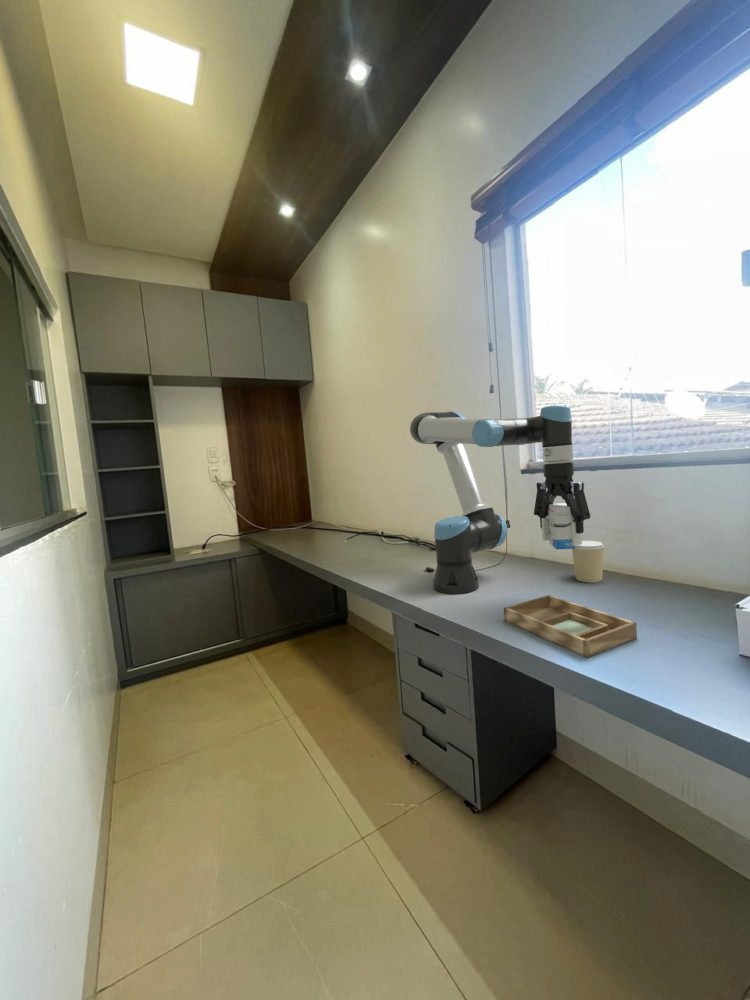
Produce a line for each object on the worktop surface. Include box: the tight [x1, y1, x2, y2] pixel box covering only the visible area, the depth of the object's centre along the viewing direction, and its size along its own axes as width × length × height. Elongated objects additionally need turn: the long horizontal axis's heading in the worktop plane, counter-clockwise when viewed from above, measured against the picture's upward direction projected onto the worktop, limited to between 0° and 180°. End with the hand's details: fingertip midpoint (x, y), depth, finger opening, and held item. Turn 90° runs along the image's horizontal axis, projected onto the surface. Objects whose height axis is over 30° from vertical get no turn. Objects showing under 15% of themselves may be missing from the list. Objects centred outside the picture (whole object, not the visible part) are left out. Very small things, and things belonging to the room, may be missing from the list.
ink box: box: [548, 502, 575, 550], centre depth 110 cm, size 8×5×12 cm, turn 168°
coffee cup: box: [571, 540, 605, 583], centre depth 130 cm, size 9×9×12 cm
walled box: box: [503, 594, 638, 659], centre depth 96 cm, size 24×16×4 cm, turn 24°
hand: (561, 542), depth 111 cm, fingers closed on ink box, 9 cm apart
